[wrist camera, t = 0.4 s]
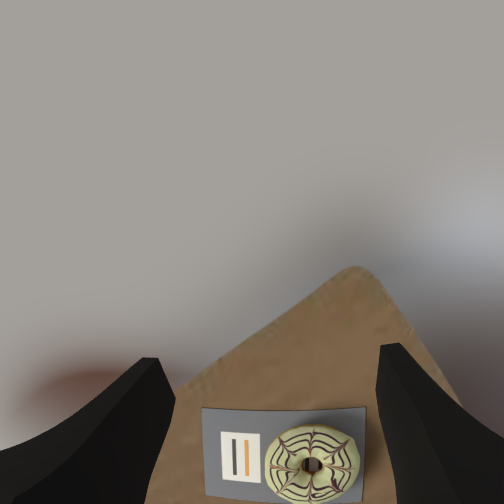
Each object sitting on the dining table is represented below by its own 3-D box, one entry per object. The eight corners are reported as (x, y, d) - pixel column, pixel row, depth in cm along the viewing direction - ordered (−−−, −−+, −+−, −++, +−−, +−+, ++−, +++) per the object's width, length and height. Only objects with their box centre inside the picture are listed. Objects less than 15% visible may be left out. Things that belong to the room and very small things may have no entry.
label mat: (361, 501, 28) (361, 501, 28) (206, 494, 33) (205, 494, 33) (365, 406, 32) (365, 407, 32) (202, 407, 37) (201, 408, 37)
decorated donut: (354, 495, 28) (355, 509, 25) (267, 492, 31) (260, 505, 28) (362, 420, 32) (363, 427, 28) (270, 419, 34) (262, 426, 31)
